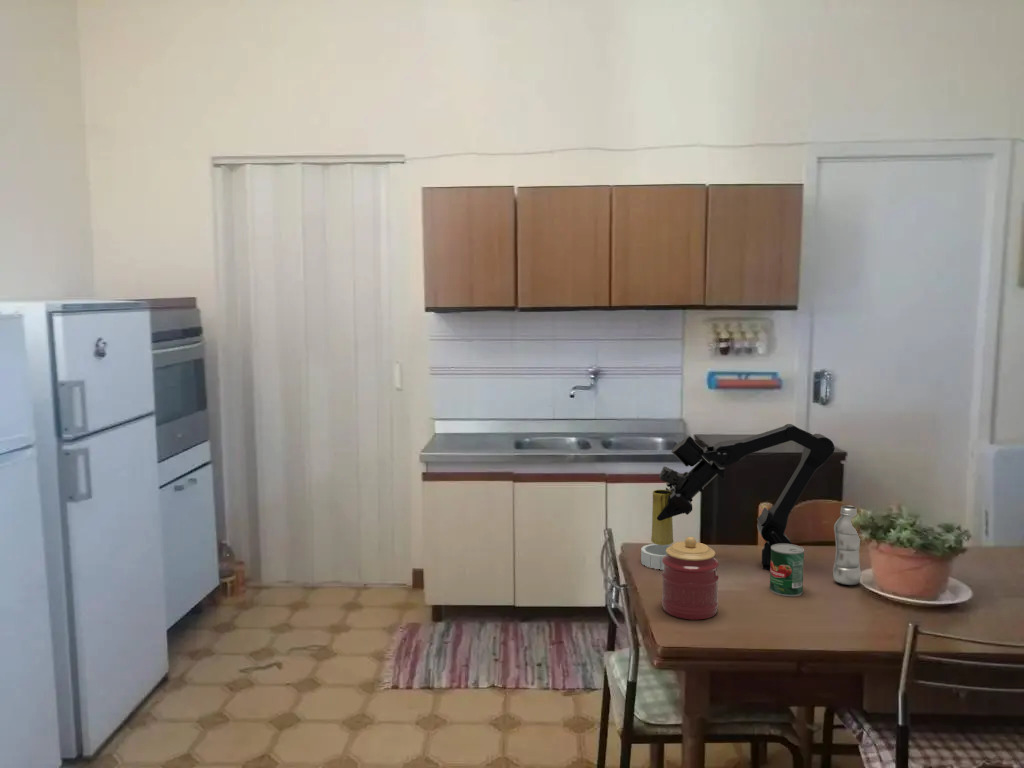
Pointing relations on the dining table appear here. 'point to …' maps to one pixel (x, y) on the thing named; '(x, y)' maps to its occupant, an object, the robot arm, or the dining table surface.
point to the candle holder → (653, 555)
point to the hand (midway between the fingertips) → (657, 516)
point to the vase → (663, 528)
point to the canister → (690, 580)
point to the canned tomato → (786, 569)
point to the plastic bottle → (846, 548)
